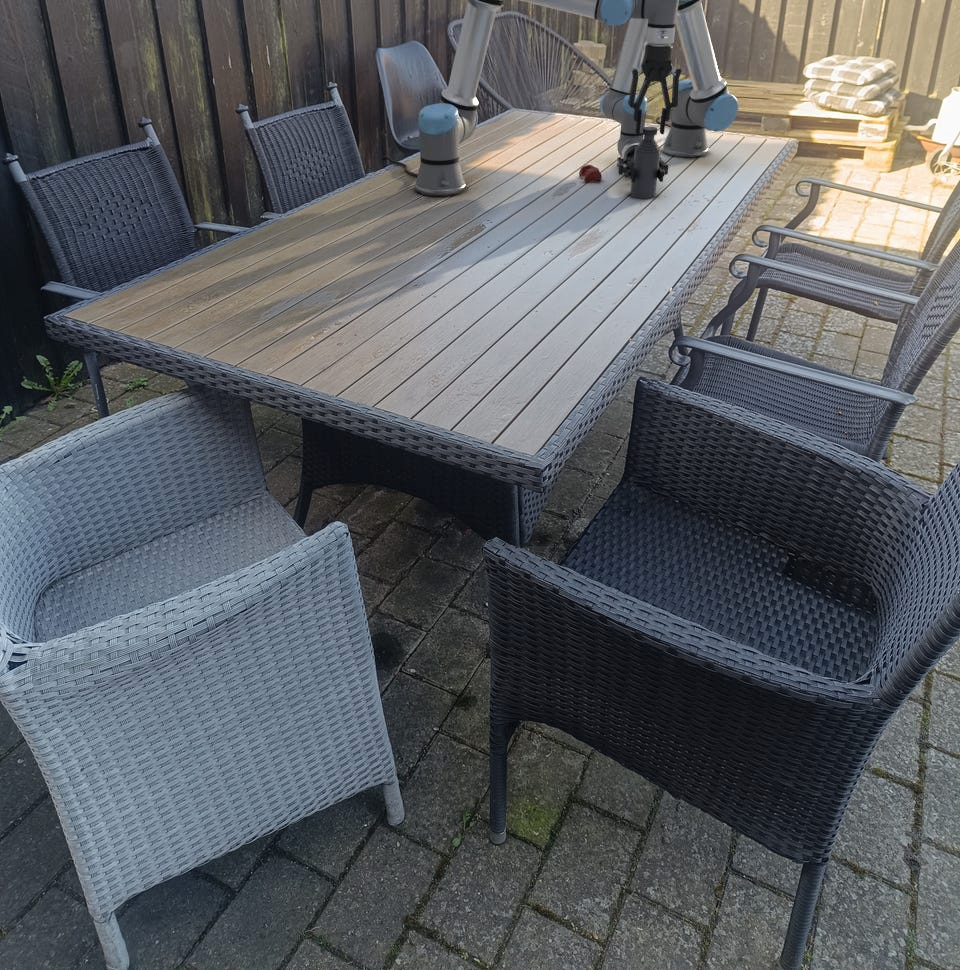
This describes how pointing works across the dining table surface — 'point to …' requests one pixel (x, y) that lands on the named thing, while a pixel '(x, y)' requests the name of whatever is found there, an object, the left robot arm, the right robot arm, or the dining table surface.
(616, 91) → the right robot arm
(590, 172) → the dental model
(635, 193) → the bottle
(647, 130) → the cap
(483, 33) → the left robot arm
